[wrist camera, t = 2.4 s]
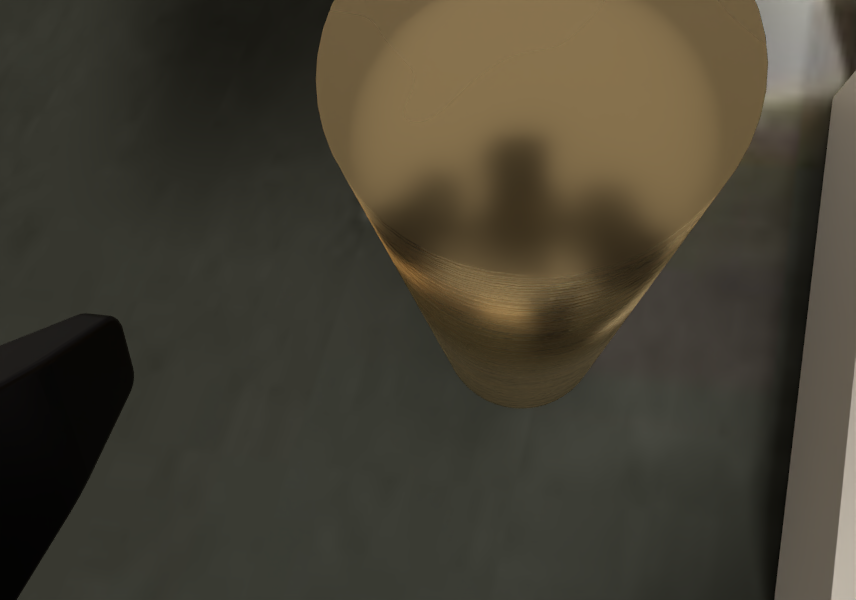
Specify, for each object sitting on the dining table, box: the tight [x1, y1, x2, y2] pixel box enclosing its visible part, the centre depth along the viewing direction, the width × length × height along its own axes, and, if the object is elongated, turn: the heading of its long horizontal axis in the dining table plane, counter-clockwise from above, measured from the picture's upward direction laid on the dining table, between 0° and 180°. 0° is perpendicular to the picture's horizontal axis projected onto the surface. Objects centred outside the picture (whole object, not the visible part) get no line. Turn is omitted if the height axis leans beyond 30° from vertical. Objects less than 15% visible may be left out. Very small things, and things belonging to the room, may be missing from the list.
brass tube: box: [316, 0, 768, 408], centre depth 13 cm, size 4×4×13 cm
